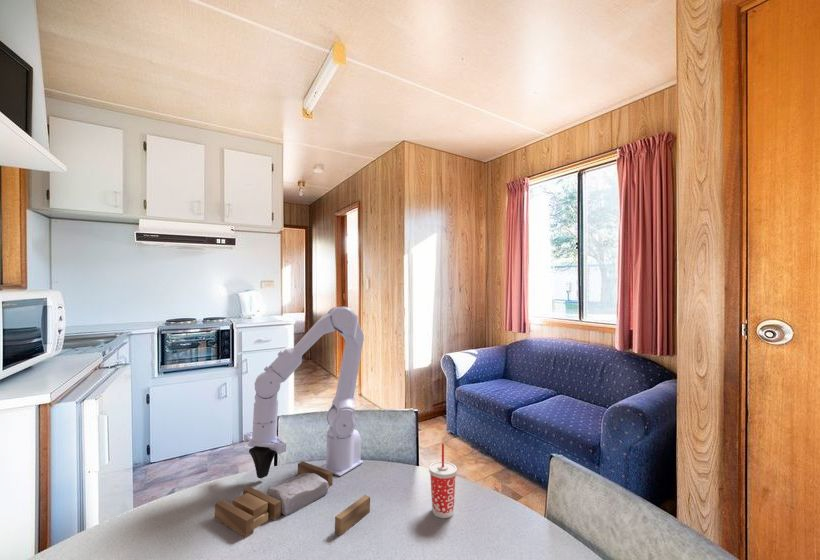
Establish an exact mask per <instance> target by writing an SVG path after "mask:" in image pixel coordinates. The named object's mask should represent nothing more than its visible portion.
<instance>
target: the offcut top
mask: <svg viewBox="0 0 820 560" xmlns="http://www.w3.org/2000/svg"><path fill="white" fill-rule="evenodd" d="M232 505H234V506H235V507H237V508H239V509H241V510H243V511H245V512H246V513H248V514H250V515H252V516H254V519H256V518H258V517H259V516H261V515H263V514H264V513H266V512H268V502H266V501H264V500H262V499H260V498H258V497H255V496H253V495H251V494H249V493H246V494H244V495H243V494H242V495H240V496H238V497H236V498H235V499H233V500H232Z"/></svg>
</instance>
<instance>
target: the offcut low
mask: <svg viewBox="0 0 820 560" xmlns="http://www.w3.org/2000/svg"><path fill="white" fill-rule="evenodd" d="M268 521H269V518H268V512H266V513H264V514H263V515H261V516H259V517H258V518H256V519H254V528H253V530H255V529H256V528H258V527H260V526H261V525H263V524H265V523H267V522H268Z"/></svg>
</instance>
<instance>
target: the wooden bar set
mask: <svg viewBox="0 0 820 560" xmlns="http://www.w3.org/2000/svg"><path fill="white" fill-rule="evenodd" d="M304 473H314V474H317V475H319V476H320V477H322V478H323V479H325V480H326V481H327V482H328V485H329V487H331V486H332V485H333V477H334V476H333V475H334V474H333V472H331V471H328V470H326V469H323V468H320V466H317V465H314V464H311V463H308V462H305V461H299V463H297V475H296V476H298V475H300V474H304ZM242 490H243V491H242V495H244V494H246V493H249V494H251V495H253V496H255V497H258V498H260V499H262V500H264V501H266V502H268V519H270V520H272V521H276V520H277V519H280V518H281V514H282V513H281V501H279V500H277V499H275V498H273V497H271V496H269V495H267V493H264V492H262V491H260V490H258V489H256V488H254V487H251V486H247V488H243V489H242ZM214 504H215V505H214V520H216V521H218V522H219V523H221V524H223V525H225V526H226V527H228V528H229V529H230V530H232V531H234V532H235V533H237V534H239V535H240V536H242V537H244V538H245V539H246V538H249V536H251V535H253V534H254V529H253V528H254V516H252V515H250V514H248V513H246V512H245V511H243V510H241V509H239V508H237V507H235V506H234V505H233V503H230V502H228V501H226V500H224V499H220V500H219V501H215V503H214ZM370 512H371V496H370V495H369V496H368V495H366V494H364V495H362V496H361V497H359V498H358V499H357V500H355V501H354V502H353V503H351V505H349V506H347V507H345V509H343V510H342V511H341V512H339V513H338V514H337V515H335V516H334V534H336V535H338V536H342V535H343V534H345V533H346V532H348V531H349V529H351V528H353V526H355V525H356V524H357V523H358V522H359V521H360V520H362V519H363V518H365V516H367V515H368V514H369V513H370Z"/></svg>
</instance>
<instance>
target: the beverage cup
mask: <svg viewBox="0 0 820 560" xmlns="http://www.w3.org/2000/svg"><path fill="white" fill-rule="evenodd" d="M428 472H429V476H430V491H431V507H432V508H431V509H432V511H431V512H432V514H433V515H434V516H435V517H437V518H440V519H441V518H442V519H447V518H451V517H453V515H454V512H455V493H456V477H457V476H456V475H457V474H458V468H457V466H456V465H455V464H454V463H452V462H448V461H445V443H443V442H442V443H441V461H435V462H432V463H430V464H429V467H428Z"/></svg>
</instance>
